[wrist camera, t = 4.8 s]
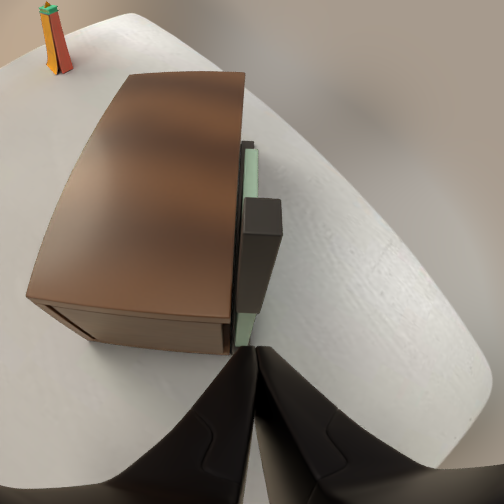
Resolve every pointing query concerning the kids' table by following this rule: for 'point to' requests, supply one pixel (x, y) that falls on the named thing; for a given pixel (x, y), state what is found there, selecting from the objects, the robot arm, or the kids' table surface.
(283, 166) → the kids' table surface
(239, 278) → the sliding door
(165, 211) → the cabinet
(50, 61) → the building blocks
